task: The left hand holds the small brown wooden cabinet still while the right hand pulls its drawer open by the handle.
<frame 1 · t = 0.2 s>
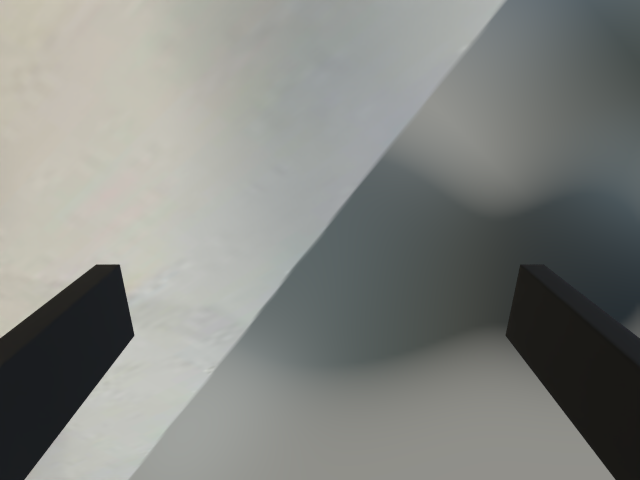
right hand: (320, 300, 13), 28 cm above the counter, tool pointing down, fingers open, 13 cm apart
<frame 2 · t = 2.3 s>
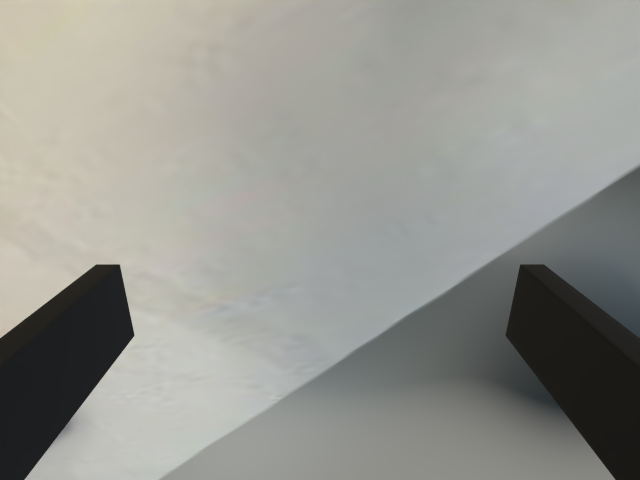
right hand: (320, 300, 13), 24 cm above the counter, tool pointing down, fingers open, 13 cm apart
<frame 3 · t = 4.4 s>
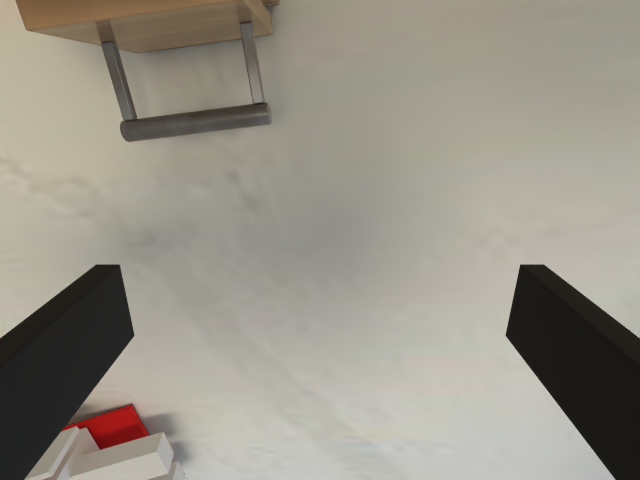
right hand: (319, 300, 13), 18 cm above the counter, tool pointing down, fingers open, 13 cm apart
toy: (52, 453, 40), on the counter
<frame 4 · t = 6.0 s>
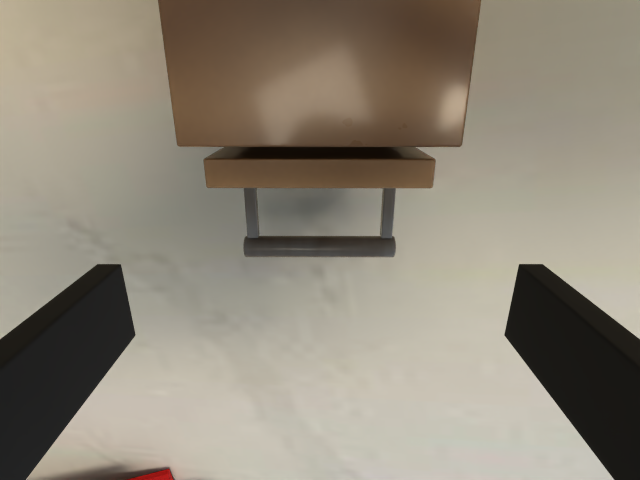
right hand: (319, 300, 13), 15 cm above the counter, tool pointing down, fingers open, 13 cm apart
drawer: (319, 51, 18), point 6 cm above the counter, slide at 0.6 cm
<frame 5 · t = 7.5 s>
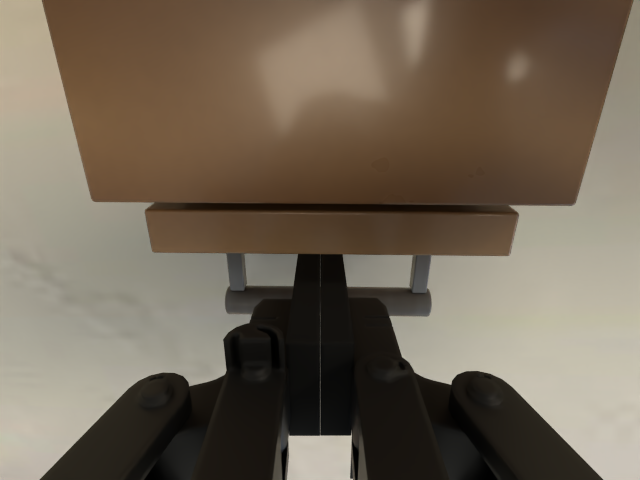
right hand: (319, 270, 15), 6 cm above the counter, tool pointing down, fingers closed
drawer: (331, 32, 12), point 6 cm above the counter, slide at 0.5 cm, touching right hand
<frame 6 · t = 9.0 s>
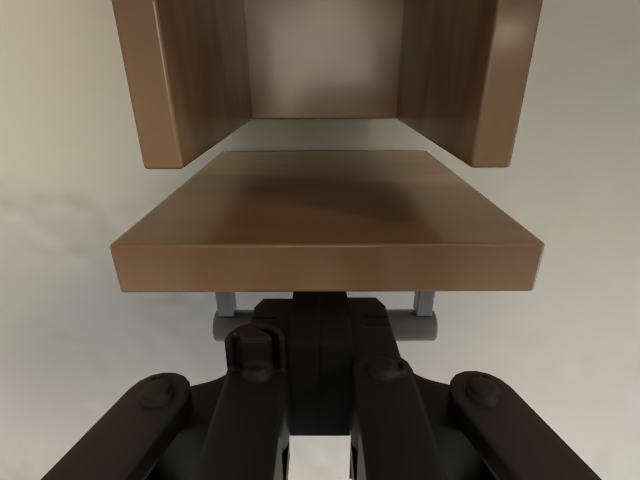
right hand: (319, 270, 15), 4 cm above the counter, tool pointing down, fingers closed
drawer: (324, 34, 11), point 6 cm above the counter, slide at 7.4 cm, touching right hand
when the left hand's fingers open (7 cm above the counter, at t = 10.8 s): cabinet stays where it is, on the counter.
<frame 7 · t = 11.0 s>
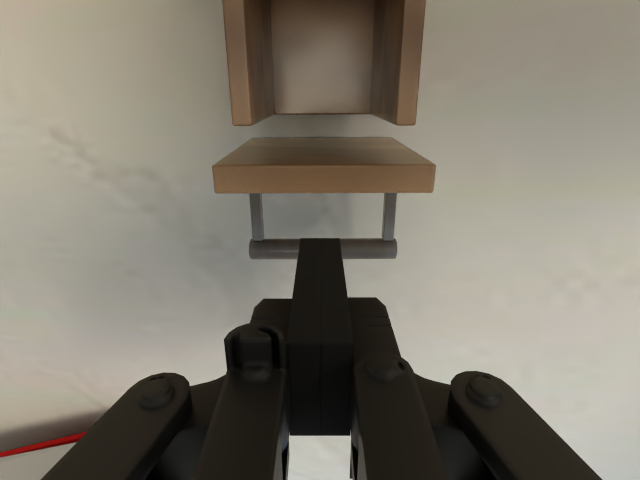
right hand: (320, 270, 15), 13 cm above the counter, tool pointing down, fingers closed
toy: (63, 456, 37), on the counter
drawer: (323, 59, 19), point 6 cm above the counter, slide at 7.4 cm
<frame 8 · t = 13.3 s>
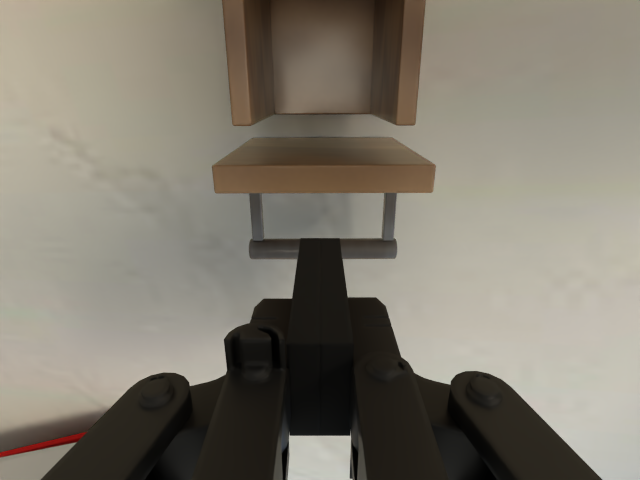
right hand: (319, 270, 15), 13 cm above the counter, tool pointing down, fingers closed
toy: (63, 456, 37), on the counter
drawer: (322, 59, 19), point 6 cm above the counter, slide at 7.4 cm
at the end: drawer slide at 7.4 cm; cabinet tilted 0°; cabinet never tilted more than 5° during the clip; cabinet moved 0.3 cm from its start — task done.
